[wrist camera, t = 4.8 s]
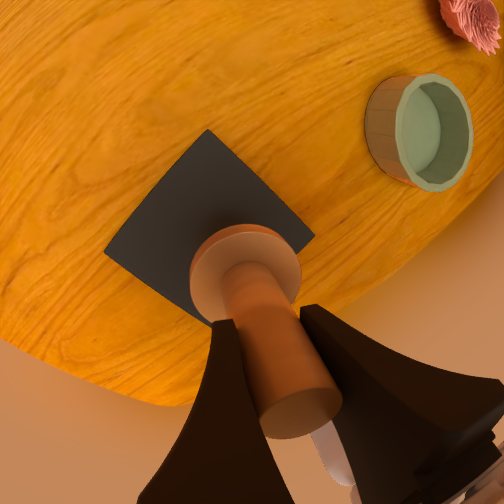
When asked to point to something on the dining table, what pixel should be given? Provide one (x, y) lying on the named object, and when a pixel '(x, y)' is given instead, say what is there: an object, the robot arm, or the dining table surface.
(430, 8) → the dining table surface
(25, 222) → the dining table surface
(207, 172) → the coaster
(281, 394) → the utensil
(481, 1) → the flower
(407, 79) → the holder
